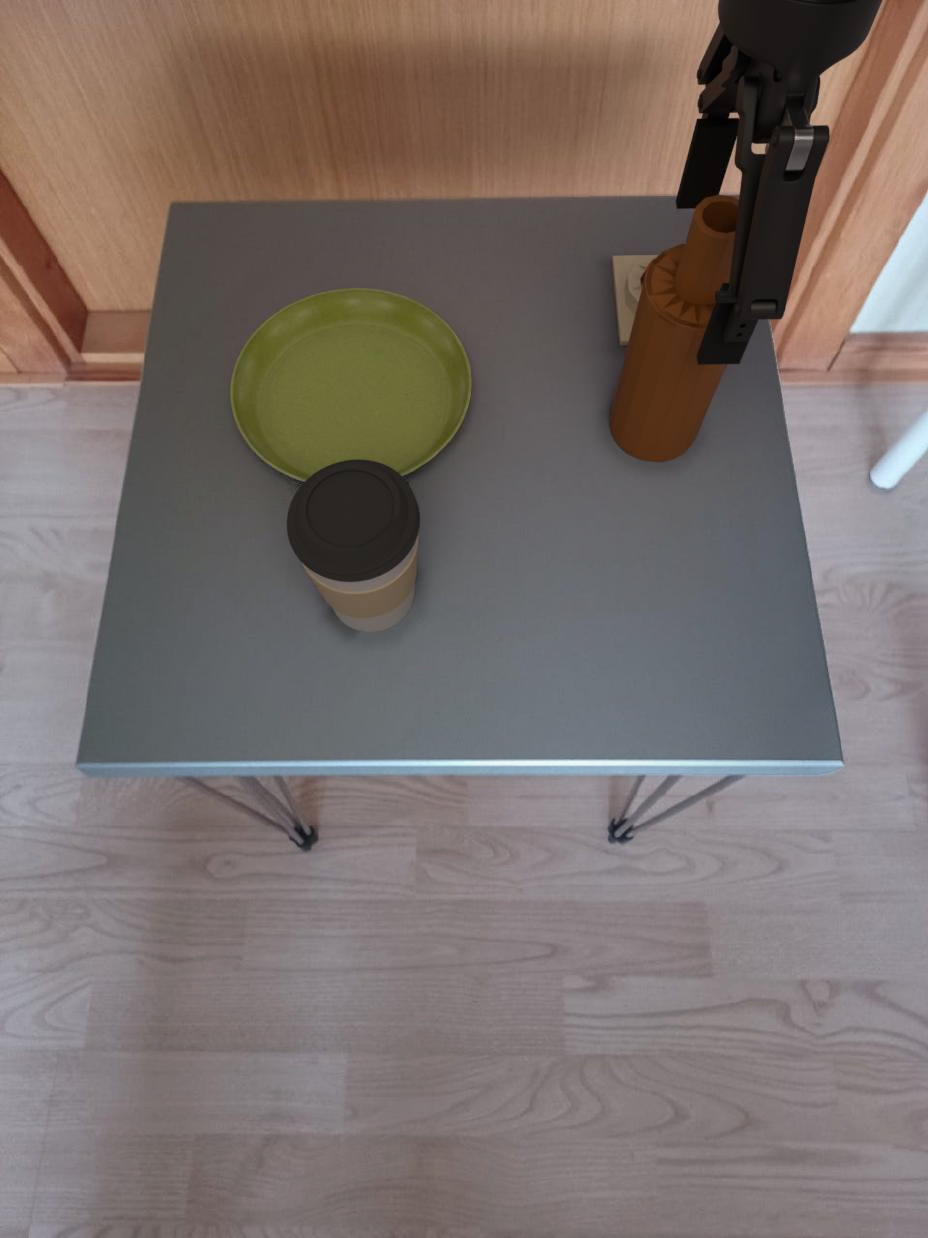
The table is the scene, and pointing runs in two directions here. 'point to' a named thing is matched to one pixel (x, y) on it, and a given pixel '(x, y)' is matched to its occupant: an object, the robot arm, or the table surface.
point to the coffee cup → (358, 541)
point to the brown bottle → (674, 340)
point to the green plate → (350, 383)
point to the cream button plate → (628, 290)
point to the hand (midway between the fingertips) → (705, 279)
